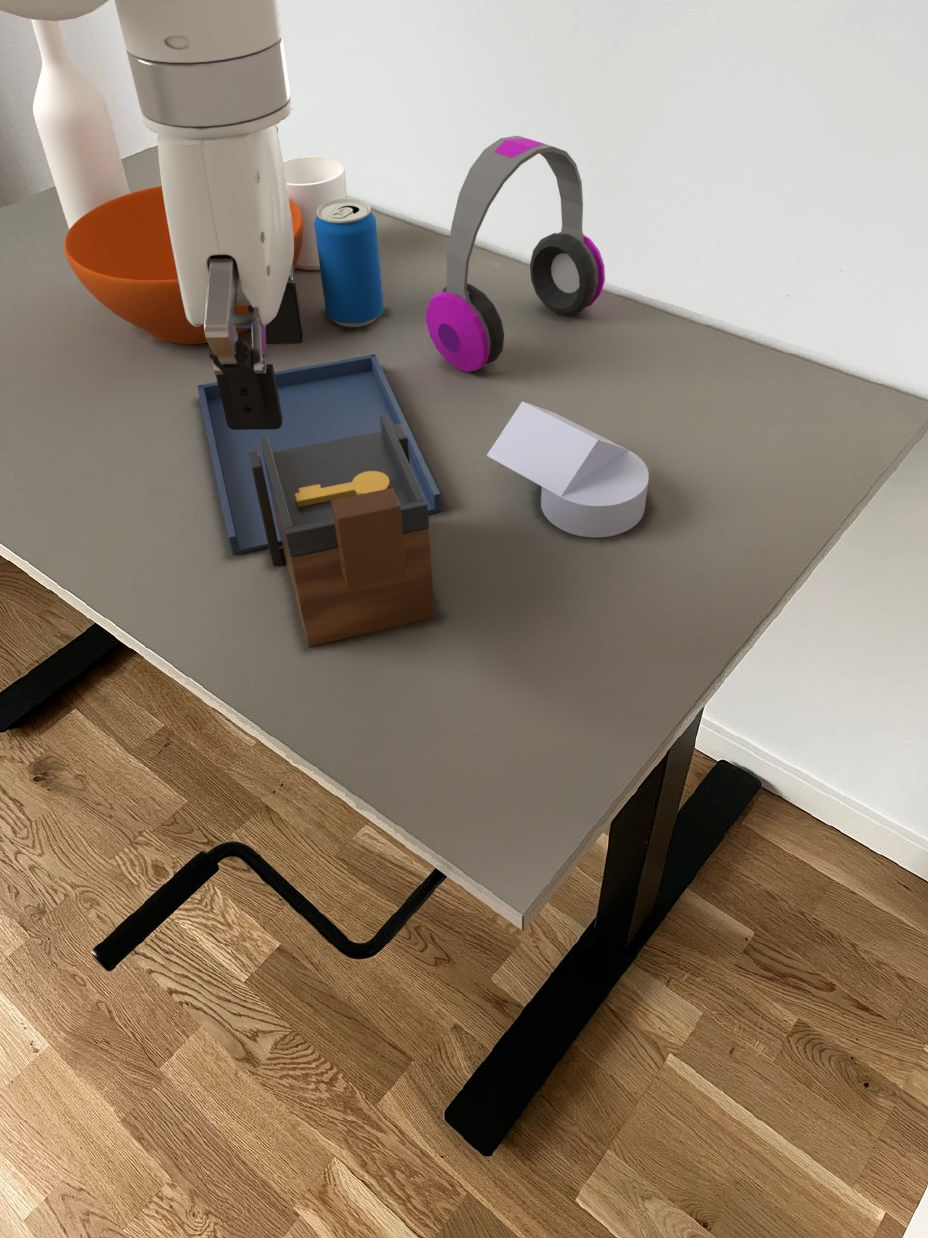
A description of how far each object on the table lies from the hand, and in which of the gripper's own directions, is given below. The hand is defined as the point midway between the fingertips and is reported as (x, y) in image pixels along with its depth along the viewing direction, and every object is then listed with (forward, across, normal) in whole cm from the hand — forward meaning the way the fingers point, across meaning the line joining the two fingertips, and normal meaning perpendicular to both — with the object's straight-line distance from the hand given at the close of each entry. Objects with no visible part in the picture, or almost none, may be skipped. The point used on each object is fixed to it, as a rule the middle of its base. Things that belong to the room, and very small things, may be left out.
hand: (268, 382), depth 61 cm
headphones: (+22, -43, +17) cm, 51 cm away
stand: (+21, -5, +3) cm, 22 cm away
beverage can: (+22, -49, -1) cm, 53 cm away
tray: (+21, -22, -3) cm, 31 cm away
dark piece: (+12, -2, +4) cm, 13 cm away
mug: (+22, -65, -7) cm, 69 cm away
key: (+12, -4, +3) cm, 13 cm away
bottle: (+22, -65, -33) cm, 76 cm away
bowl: (+22, -50, -18) cm, 57 cm away
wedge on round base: (+22, -16, +21) cm, 34 cm away
